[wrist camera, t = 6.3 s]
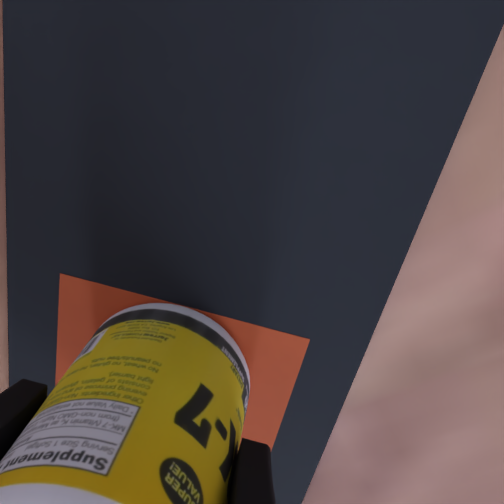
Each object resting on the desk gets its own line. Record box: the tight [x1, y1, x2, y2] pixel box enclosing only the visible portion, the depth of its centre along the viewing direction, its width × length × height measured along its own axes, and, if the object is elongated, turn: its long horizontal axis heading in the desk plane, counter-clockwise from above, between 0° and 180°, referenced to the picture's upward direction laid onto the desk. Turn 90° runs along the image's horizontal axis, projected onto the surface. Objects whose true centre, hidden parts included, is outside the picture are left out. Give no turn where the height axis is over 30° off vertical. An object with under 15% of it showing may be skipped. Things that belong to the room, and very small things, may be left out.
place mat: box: [3, 0, 504, 504], centre depth 12 cm, size 10×22×1 cm, turn 167°
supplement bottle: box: [0, 303, 250, 504], centre depth 10 cm, size 5×5×8 cm
